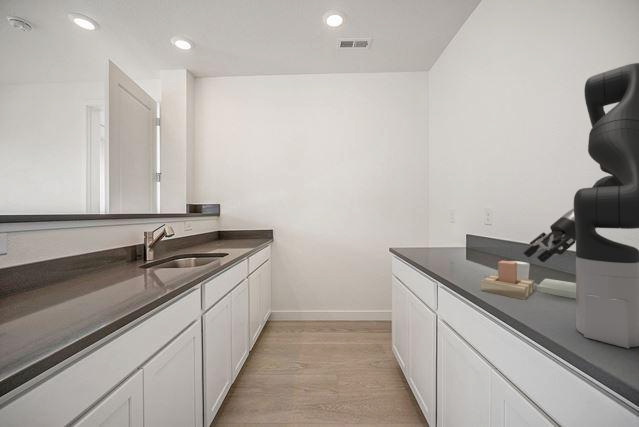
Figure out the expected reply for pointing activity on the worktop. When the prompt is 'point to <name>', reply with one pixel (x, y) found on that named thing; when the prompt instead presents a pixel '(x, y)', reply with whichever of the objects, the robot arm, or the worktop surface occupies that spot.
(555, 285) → the sage tile platform
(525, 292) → the birch holder
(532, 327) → the worktop surface
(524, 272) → the white cube
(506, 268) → the terracotta block
